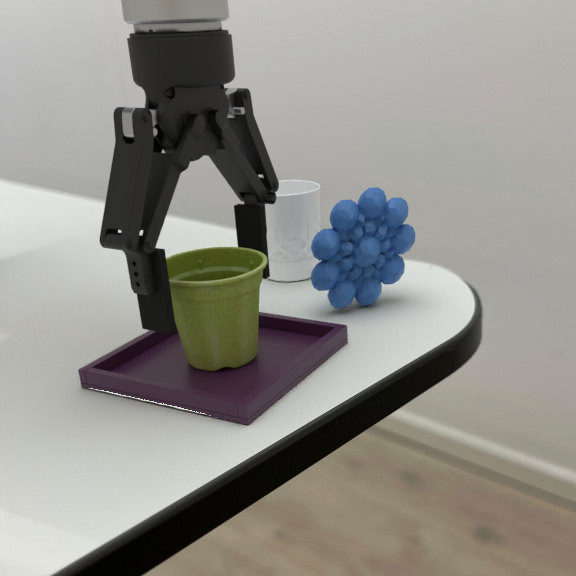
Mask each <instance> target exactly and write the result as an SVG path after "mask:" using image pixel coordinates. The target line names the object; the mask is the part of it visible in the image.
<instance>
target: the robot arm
mask: <svg viewBox="0 0 576 576" xmlns="http://www.w3.org/2000/svg"><path fill="white" fill-rule="evenodd" d="M120 2H121V12H122V19H123V21H124V22H125V23H126V24H127V25H133V26H132V27H133V32H130V33H129V37H127V38H126V40H127V48H128V55H129V62H130V68H131V75H132V76H131V77H132V80H133V82H134V84H135V85H136V86H137V87H140V88H141V89H142V90H143V91H144V96H145V102H144V107H135V106H134V107H133V106H132V107H131V106H117V107H115V109H114V110H113V125H114V127H113V129H114V139H115V141H114V148H113V154H112V160H111V165H110V166H111V167H110V171H109V178H108V184H107V190H106V196H105V202H104V209H103V215H102V220H101V226H100V233H99V245H100V246H101V247H102V248H103V249H110V250H116V251H122V252H123V253H124V256H125V259H126V264H127V271H128V275H129V276H128V277H129V280H130V281H129V282H130V288H131V290H132V292H133V294H136V298H137V299H136V300H137V304H138V305H137V306H138V310H139V311H138V312H139V316H140V322H141V329H142V330H146V331H149V330H151V331H156V332H162V333H167V334H171V333H173V332H174V331H176V325H175V318H174V311H173V304H172V297H171V290H170V283H169V276H168V269H167V262H166V258H167V256H166V249H165V248H159V247H157V244H158V240H159V238H160V235H161V232H162V229H163V227H164V223H165V220H166V218H167V216H168V212H169V209H170V205H171V203H172V200H173V197H174V195H175V192H176V189H177V186H178V183H179V181H180V180H179V179H180V177H181V174H182V173H183V172H184V171H186V170H187V169H189V167H190V163H191V162H195V161H198V160H200V159H202V158H203V157H205V156H206V157H209V159H210V160H211V162H212V163H213V165H214V166H215V168H216V169H217V170H218V172H219V173H220V174H221V176H222V177H223V178H224V180H225V182H226V183H227V184H228V186H229V187H230V188H231V190H232V191H233V192H234V194H235V196H237V198H238V200H239V201H240V202H243V203H237V204H234V205H233V213H234V223H235V231H236V233H235V234H236V243H237V247H242V248H249V249H253V250H257V251H260V252H261V253H263V254H265V255H266V257H267V265H266V267H265V268H264V269H263V277H262V280H266V279H267V278H268V277H270V271H269V259H268V247H267V225H266V212H265V204H274V203H275V201H276V193H275V192H277V190H278V188H279V182H278V181H279V178H278V177H277V174H276V172H275V168H274V166H273V165H274V164H273V163H272V161H271V157H270V155H269V151H268V150H267V147H266V144H265V141H264V139H263V136H262V133H261V130H260V128H259V125H258V123H257V119H256V118H255V117H256V116H255V114H254V107H253V101H252V93H251V91H250V89H249V88H248V87H225V85H227V84H230V83H232V82H233V81H234V79H235V77H236V68H235V67H236V65H235V57H234V45H233V36H232V35H233V34H232V33H229V30H228V29H223V23H222V22H225V21H227V20H228V19H229V18H230V9H229V0H120ZM259 175H260V176H261V177H260V176H259ZM119 231H120V232H119ZM141 231H142V234H140V233H141Z"/></svg>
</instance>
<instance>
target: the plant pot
mask: <svg viewBox="0 0 576 576" xmlns="http://www.w3.org/2000/svg"><path fill="white" fill-rule="evenodd" d="M166 262H167V269H168V276H169V283H170V290H171V297H172V304H173V311H174V318H175V323H176V326H177V329H178V332H179V335H180V338H181V342H182V345H183V348H184V352H185V355H186V358H187V361H188V362H189V364H190V365H191V366H193V367H195V368H197V369H201V370H206V371H217V370H219V369H220V368H223V367H232V368H237V367H240V366H243V365H245V364H247V363H249V362H250V361H252V360H253V359H254V358H255V357H256V355H257V350H258V319H259V312H260V292H261V289H260V288H261V284H262V282H263V278H262V277H263V269H264V268H265V267H266V265H267V257H266V255H265V254H263V253H261V252H260V251H257V250H253V249H249V248H242V247H238V246H214V247H212V246H211V247H202V248H197V249H196V248H195V249H192V250H188V251H182V252H179V253H175V254H173V255H170V256H168V257H167V256H166Z"/></svg>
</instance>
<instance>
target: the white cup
mask: <svg viewBox="0 0 576 576" xmlns="http://www.w3.org/2000/svg"><path fill="white" fill-rule="evenodd" d="M278 182H279V188H278V190H277V192H275V193H276V201H275V203H274V204H265V212H266V225H267V247H268V259H269V271H270V277H268V278H266V279H267V280H271V281H276V282H288V283H289V282H298V281H299V282H300V281H305V280H309V279H310V278H311V272H312V270H313V269H314V267H315V266H316V264H317V263H319V262H320V261H321V260H320V261H319V260H318V259H316V258H315V257H314V256H313V253H312V250H311V244H312V240H313V238H314V237H315V235H316V234H317V233H318V232H319V231H321V230H322V197H321V196H322V195H321V194H322V193H321V191H322V187H321V184H320V183H318V182H316V181H312V180H304V179H280V180H278Z"/></svg>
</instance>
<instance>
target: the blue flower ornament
mask: <svg viewBox="0 0 576 576" xmlns="http://www.w3.org/2000/svg"><path fill="white" fill-rule="evenodd" d="M329 214H330V215H329V222H330V226H331V228H321V231H319V232H318V233H317V234H316V235H315V237H314V238H313V240H312V244H311V250H312V253H313V256H314V257H315V258H316V259H318V260H319V261H320V262H319V263H317V264H316V266H315V267H314V269H313V270H312V272H311V278H309V279H310V281H311V286H312V287H313V288H314V289H315V290H317V291H318V292H325V291H328V292H327V299H328V302H329V305H330V306H332V307H333V308H334V309H345V308H346V307H348V306H350V305H351V304H352V302H353V301H354V300H355V302H356V303H357V304H358V305H360V306H361V307H364V306H371V305H372V304H374V303H376V302H377V300H378V299H379V298H380V296H381V294H382V290H383V285H386V286H387V285H394V284H396V283H397V282H399V281H400V279H402V277H403V275H404V273H405V268H406V262H405V261H404V258H403V257H402V256H401V255H404V254H406V253H408V252H410V250H412V249H411V248H413V246H414V244H415V243H416V231H415V229H414V226H412V225H410V224H409V223H405V222H406V220H407V218H408V216H409V205H408V202H407V200H406V199H404V198H403V197H391V198H390V199H388V200H387V195H386V192H385V190H383V189H382V188H380V187H378V186H377V187H375V186H374V187H368V188H366V189H365V190H364V191H363V192H362V193H361V194H360V196H359V198H358V200H357V202H356V201H355V200H352V199H341V200H339V201H338V202H337V203H336V204H334V206H333V207H332V209H331V211H330V213H329Z"/></svg>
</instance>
